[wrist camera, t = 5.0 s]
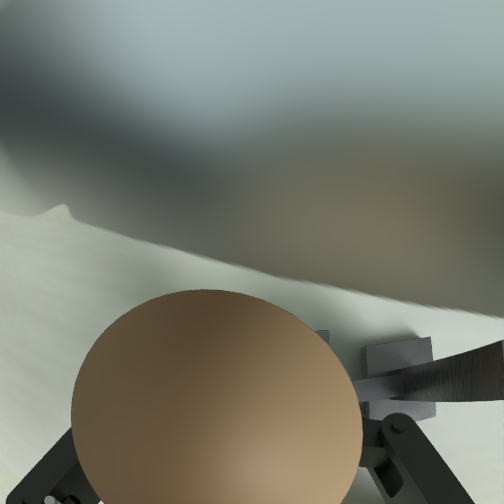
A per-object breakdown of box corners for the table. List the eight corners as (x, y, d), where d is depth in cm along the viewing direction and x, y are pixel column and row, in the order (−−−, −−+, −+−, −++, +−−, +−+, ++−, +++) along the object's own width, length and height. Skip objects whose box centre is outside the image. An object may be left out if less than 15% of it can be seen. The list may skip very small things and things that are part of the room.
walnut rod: (227, 428, 19) (80, 524, 3) (227, 365, 21) (82, 288, 5) (296, 428, 19) (354, 555, 3) (295, 364, 21) (353, 284, 5)
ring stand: (211, 445, 21) (117, 509, 7) (212, 342, 24) (122, 278, 10) (427, 425, 19) (557, 437, 5) (421, 328, 23) (539, 255, 9)
